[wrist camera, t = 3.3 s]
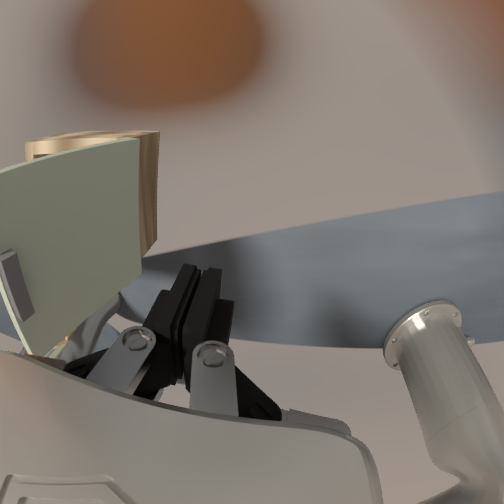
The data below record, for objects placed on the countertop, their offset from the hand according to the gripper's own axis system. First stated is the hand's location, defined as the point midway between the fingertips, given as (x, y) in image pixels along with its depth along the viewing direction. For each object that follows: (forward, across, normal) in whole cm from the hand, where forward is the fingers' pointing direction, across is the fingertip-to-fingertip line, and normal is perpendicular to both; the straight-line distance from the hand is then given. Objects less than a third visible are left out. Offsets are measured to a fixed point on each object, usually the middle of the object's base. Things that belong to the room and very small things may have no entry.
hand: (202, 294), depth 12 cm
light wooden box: (+15, +14, 0) cm, 20 cm away
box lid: (+3, +9, 0) cm, 10 cm away
